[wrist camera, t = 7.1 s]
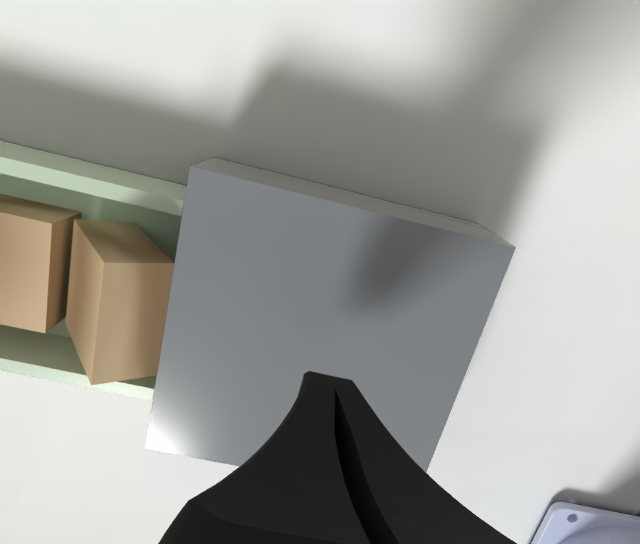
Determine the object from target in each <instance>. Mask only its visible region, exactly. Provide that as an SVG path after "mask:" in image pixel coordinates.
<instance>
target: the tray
mask: <svg viewBox="0 0 640 544" xmlns="http://www.w3.org/2000/svg"><path fill="white" fill-rule="evenodd" d="M186 187H187V186H185V185H181V184H177V183H173V182H169V181H165V180H161V179H157V178H153V177H148V176H144V175H140V174H136V173H132V172H128V171H124V170H120V169H116V168H112V167H107V166H103V165H99V164H95V163H91V162H87V161H83V160H79V159H75V158H71V157H66V156H62V155H58V154H54V153H50V152H46V151H42V150H38V149H34V148H30V147H26V146H21V145H17V144H13V143H9V142H5V141H1V140H0V193H1V194H5V195H9V196H14V197H18V198H23V199H27V200H31V201H36V202H40V203H45V204H49V205H53V206H58V207H62V208H67V209H71V210H75V211H80V212H82V217H81V219H82V220H98V221H115V222H131V223H136V224H137V225H138V227H139V228H140V229H141V230H142V231H143V232H144V233H145V234H146V235H147V236H148V237H149V238H150V239H151V240H152V241H153V242H154V243H155V244H156V245H157V246H158V247H159V248H160V249H161V250H162V251H163V252H164V253H165V254H166V255H167V256H168V257H169V258H170V259H171V260H172V261H173V262H174V263H175V257H176V251H177V244H178V238H179V232H180V225H181V219H182V213H183V206H184V200H185V194H186ZM173 270H174V269H173ZM65 323H66V317H65V318H64V319H63V320H62V321H60V322H59V323H58V324H56V325H55V326H54V327H53V328H51V329H50V330H49V331H48V332H46V333H41V332H36V331H31V330H26V329H21V328H16V327H11V326H6V325H1V324H0V371H5V372H10V373H15V374H21V375H26V376H31V377H36V378H41V379H46V380H51V381H56V382H61V383H66V384H71V385H76V386H81V387H86V388H91V389H96V390H101V391H106V392H111V393H116V394H121V395H126V396H131V397H136V398H141V399H146V400H151V401H152V400H153V396H154V390H155V383H156V377H157V375H156V376H149V377H142V378H136V379H129V380H123V381H116V382H110V383H103V384H97V385H91V384H90V382H89V379H88V377H87V374H86V372H85V370H84V367H83V365H82V362H81V360H80V358H79V355H78V353H77V350H76V348H75V346H74V343H73V341H72V338H71V336H70V334H69V331H68V329H67V326H66V324H65Z"/></svg>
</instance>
